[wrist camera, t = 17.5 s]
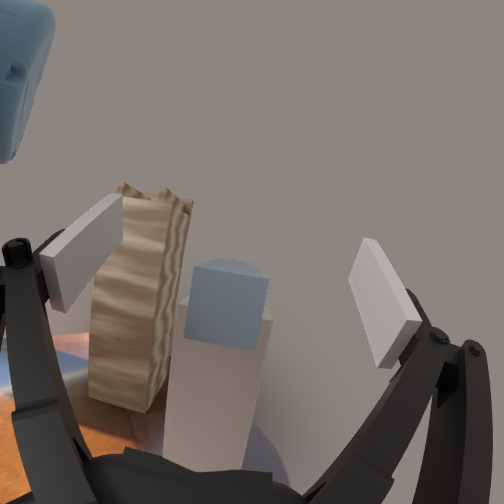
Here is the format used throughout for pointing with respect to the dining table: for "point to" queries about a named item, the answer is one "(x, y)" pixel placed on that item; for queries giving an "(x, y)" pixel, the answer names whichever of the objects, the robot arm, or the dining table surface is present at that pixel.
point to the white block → (211, 399)
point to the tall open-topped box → (137, 300)
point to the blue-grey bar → (226, 303)
